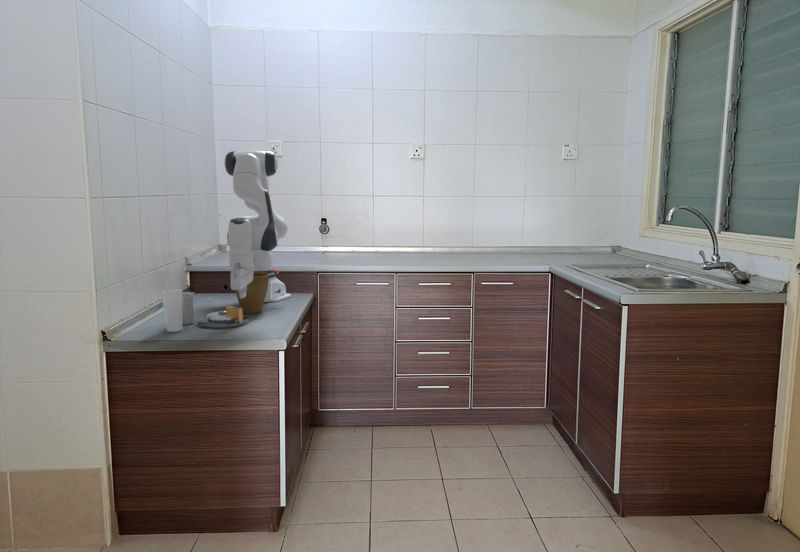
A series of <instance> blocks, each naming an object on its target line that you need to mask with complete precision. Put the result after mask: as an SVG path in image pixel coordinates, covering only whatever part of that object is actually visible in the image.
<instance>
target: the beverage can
mask: <svg viewBox="0 0 800 552" xmlns="http://www.w3.org/2000/svg"><path fill="white" fill-rule="evenodd" d="M182 292H183V317H182V326H189V325H191V324H192V325H193V323H194V322H195V312H194V310H195V309H194V296H193V293H192V292H191V291H182Z"/></svg>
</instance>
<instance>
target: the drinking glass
mask: <svg viewBox="0 0 800 552" xmlns="http://www.w3.org/2000/svg"><path fill="white" fill-rule="evenodd" d="M183 292H184V291H183V289H182V288H167V289H163V290H162V302H163V303H162V305H163V311H164V316H165V323H166V331H167V332H169V333H178V332H181V331H182V330H183V325H182V317H183Z"/></svg>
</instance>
